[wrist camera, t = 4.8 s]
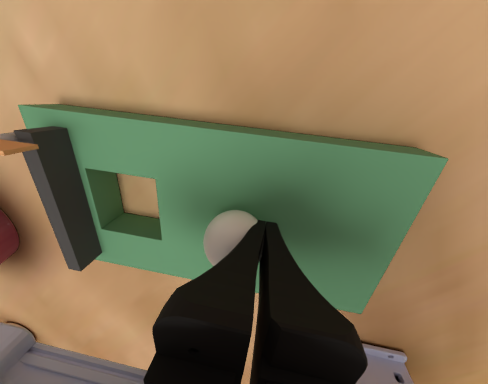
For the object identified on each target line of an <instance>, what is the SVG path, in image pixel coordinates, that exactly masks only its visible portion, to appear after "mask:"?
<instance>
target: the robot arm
mask: <svg viewBox="0 0 488 384" xmlns="http://www.w3.org/2000/svg"><path fill="white" fill-rule="evenodd" d="M263 238H264V245H263V253H262V258H261V260H260V264H259V257H260V252H261V247H262V242H263ZM258 264H259V305H258V315H257V325H256V334H255V343H254V351H253V360H252V369H251V377H250V384H414V383H413V381H412V379H411V377H410V374H409V372H408V370H407V368H406V366H405V364H404V363H405V362H406V361H407V357H406V355H405V353H403V352H399V351H395V350H390V349H386V348H381V347H377V346H372V345H367V344H363V343H361V340H360V338H359V336H358V334H357V331H356V329H355V327H354V325H353V324H352V323H351V322H350V321H349V320H347V319H346V318H345V317H344V316H343V315H342V314H341V313H340V312H339V311H337V310H336V309H335V308H334V307H333V306H332V305H331V304H330V303H329V302H328V301H327V300H326V299H325V298H324V297H323V296H322V295H321V294H320V293H319V291H318V290H317V289H316V288H315V287H314V286H313V284H312V283H311V282H310V281H309V280H308V278H307V277H306V276H305V275H304V273H303V272H302V270H301V269H300V268H299V266H298V265H297V263H296V261H295V260H294V258H293V256H292V255H291V253H290V251H289V249H288V247H287V245H286V243H285V241H284V239H283V237H282V235H281V232H280V230H279V227H278V224H277V223H274V222H269V221H263V220H257V223H256V224H255V225H253V226H252V227H251V228H250V229H249V230H248V232H247V233H246V234H245V236H244V237H243V238H242V240H241V241H240V242H239V243H238V244H237V245H236V246H235V248H234V249H233V250H232V251H231V252H230V253H229V254H228V255H226V256H225V257H224V258H223V259H222V260H221V261H219V262H218V263H217V264H216V265H214V266H213V267H212V268H210V269H209V270H207V271H206V272H204V273H203V274H201V275H200V276H198V277H197V278H195V279H193V280H192V281H190V282H188V283H186V284H184V285H182V286H181V287H179V288H177V289H176V290H175V292H174V293H173V294H172V295H171V297H170V298H169V300H168V301H167V302H166V304H165V305H164V307H163V309H162V311H161V312H160V314H159V316H158V318H157V320H156V322H155V324H154V326H153V338H154V343H155V348H156V354H155V356H154V358H153V360H152V362H151V364H150V366H149V368H148V371H146V370H143V369H139V368H135V367H131V366H127V365H123V364H119V363H115V362H112V361H108V360H104V359H100V358H96V357H92V356H88V355H84V354H80V353H77V352H73V351H69V350H65V349H61V348H57V347H53V346H49V345H46V344H42V343H38V342H36V341H35V338H34V336H33V335H32V333H31V332H29V331H28V330H26V329H24V328H21V327H17V326H13V325H9V324H6V323H2V322H0V384H241V379H242V375H243V372H244V367H245V362H246V357H247V352H248V348H249V343H250V338H251V332H252V323H253V313H254V299H255V287H256V276H257V269H258Z"/></svg>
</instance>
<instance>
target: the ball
mask: <svg viewBox="0 0 488 384" xmlns="http://www.w3.org/2000/svg"><path fill="white" fill-rule="evenodd" d="M256 223H257V219H256V218H255V217H254V216H253V215H251V214H249V213H247V212H244V211H240V210H229V211H225V212H223V213H221V214H219V215H217V216H216V217H215V218H214V219H213V220H212V221H211V222H210V223H209V225H208V227H207V229H206V231H205V234H204V240H203V245H204V251H205V254H206V256H207V258H208V260H209V262H210V263H211V264H212V265H213V266H214V265H216V264H217V263H218V262H219V261H221V260H222V259H223V258H224V257H225V256H226V255H228V254H229V253H230V252H231V251H232V250H233V249H234V248H235V246H236V245H237V244H238V243H239V242H240V241H241V240H242V238H243V237H244V236H245V234H246V233H247V232H248V230H249V229H250V228H251V227H252V226H253V225H255V224H256ZM263 245H264V238H263V242H262V247H261V252H260V257H259V261H260V260H261V258H262V253H263Z"/></svg>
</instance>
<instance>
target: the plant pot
mask: <svg viewBox="0 0 488 384" xmlns="http://www.w3.org/2000/svg"><path fill="white" fill-rule="evenodd" d="M18 246H19V237H18V233H17V231H16V229H15V227H14V225H13V223H12V222H11V221H10V219H9V218H8V217H7V216H6V214H5V213H4V212H3V211H2V210H1V209H0V264H1V263H2V262H4V261H5V260H6V259H7V258H8V257H10V256H11V255H12V254H13V253H14V252H15V251H16V250H17V249H18Z"/></svg>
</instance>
